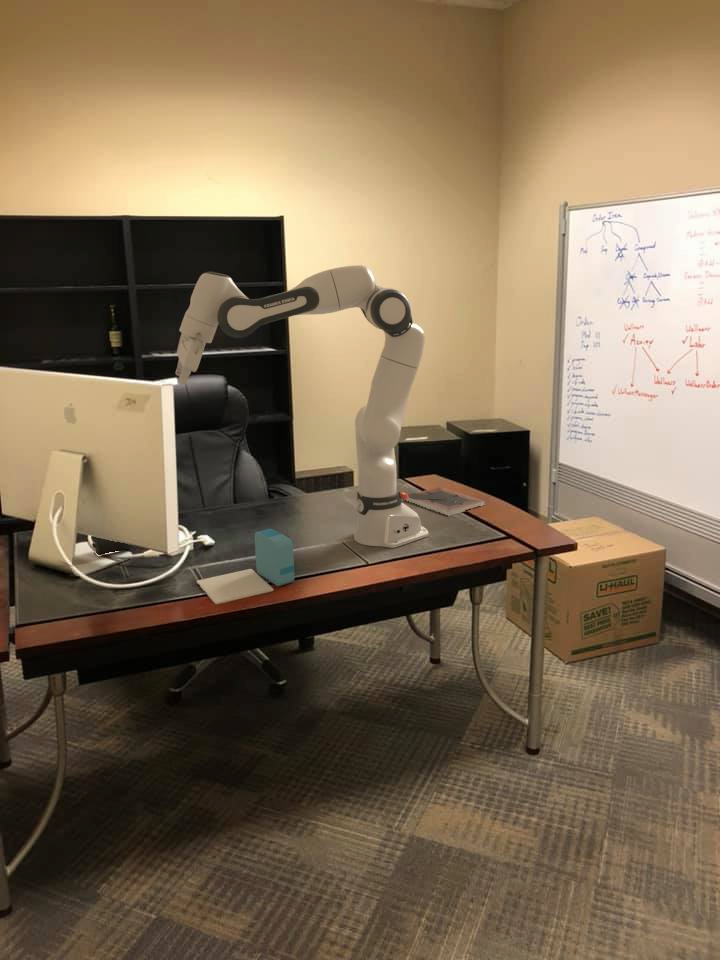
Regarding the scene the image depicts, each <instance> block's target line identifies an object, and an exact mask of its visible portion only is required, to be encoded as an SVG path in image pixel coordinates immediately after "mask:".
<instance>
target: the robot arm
mask: <svg viewBox="0 0 720 960" xmlns="http://www.w3.org/2000/svg"><path fill="white" fill-rule="evenodd" d="M188 306H189V307H188V308H187V310H185V313H184V316H183V319H182V321H181V324H180V327H179V329H178V330H179V332H180V333H181V335H180V337H179V341H178V346H177V349H176V354H177V357H178V361H177V367H176V370H175V375H176V376H177V377H179V378H178V383H179V384H182V385H185V384H186V383H187V380H188V378H189V376H190V375H191V373H192V372H193V373H196V372H197V370H198V368H199V365H200V362H201V359H202V357H203V352H204V350H205V346H206V344H211V343H212V341H213V340H214V337H215V334H216V331H217V328H218V327H219V328H220V329H221V331H222V332H223V333H224V334H225V335H227V336H229V337H231V338H235V339H243V338H246V337H248V336H250V335H251V334H253V333H254V332H255V331H256V330H257V329H258V328H260V327H261V326H263V325H267V324H269V323H272V322H276V321H280V320H282V319H287V318H290V317H294V316H300V315H301V316H302V315H310V316H311V315H312V316H313V315H326V314H332V313H336V312H340V311H343V310H347V309H348V310H349V309H351V308H359V309H360V310H361V312H362V314H363V315H364V318H365V319H366V320H367V322H368V323H370V324H371V325H372V326H373V327H375V328H376V329H379V330H382V331H383V332H384V337H385V339H384V345H383V347H382V351H381V353H380V357H379V358H378V362H377V365H376V368H375V371H374V373H373V377H372V381H371V385H370V389H369V390H370V391H369V395H368V399H367V403H366V405H364V406H363V407H361V408H360V409H359V411H358V412H357V413H356V416H355V419H354V428H355V444H356V446H355V447H356V448H355V449H356V457H357V477H358V479H357V480H358V489H357V490H358V491H357V492H356V508H357V520H356V521H357V522H356V527H355V532H354V535H353V540H354V541H355V542H356V543H359V544H361V545H365V546H369V547H385V548H391V549H393V548H394V549H395V548H397V547H401V546H404V545H407V544H409V543H412V542H414V541H417V540H418V541H419V540H421V539H423V538H424V539H425V538H426V537H429V534H430V533H429V531H428V529H427V528H426V527H424V526H422V522H421V518H420V516H419V514H418V513H417V512H416V511H414V510H413V509H412V508H411V507H409V506H408V505H406V504H405V503H403V501H405V500H407V498H408V497H409V496H408V493H405V492H401V491H399V490H397V463H396V455H395V447H396V446H397V445H398V443H399V441H400V438H401V431H402V427H403V423H404V420H405V415H406V410H407V404H408V400H409V396H410V393H411V390H412V386H413V384H414V382H415V378H416V376H417V372H418V369H419V367H420V364H421V360H422V357H423V353H424V348H425V341H426V334H425V331H424V330H423V328H421V327H420V326H419V325H418V324H416V323H414V321H413V316H412V308H411V305H410V302H409V300H408V298H407V297H406V295H405V294H404V293H403V292H401V291H399V290H397V289H394V288H391V287H383V286H378V284H377V283H376V279H375V277H374V275H373V272H372V271H371V270H370V269H369V268H368V267H367V266H366V265H362V264H361V265H359V264H358V265H357V264H356V265H348V266H347V265H346V266H345V265H344V266H341V267H334V268H331V269H327V270H322V271H320V272H318V273H315V274H313V275H310V276H308V277H307V278H305V279H303V280H302V281H301V282H300V283H298V284H297V285H296V286H294V287H292V288H291V289H289V290H287V291H283V292H281V293H277V294H272V295H268V296H265V297H261V298H255V299H254V298H252V299H251V298H249V297H248V296H246V295H245V294H244V293H243V292H242V290H240V289H239V288H238V287H237V285H236V284H235V282H234V281H233V279H232V277H230V276H229V275H227V274H223V273H219V272H215V271H206V272H204V273H202V274H201V275H200V276H199V278H198V280H197V281H196V284H195V285H194V289H193V291H192V294H191V296H190V304H189V305H188ZM402 500H403V501H402Z"/></svg>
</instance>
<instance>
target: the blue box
mask: <svg viewBox="0 0 720 960" xmlns="http://www.w3.org/2000/svg"><path fill="white" fill-rule="evenodd" d="M254 549H255V550H254V551H255V567H256V573H257V574H258V575H259V576H260V577H262V576H263V577H262V578H264V577H265V578H266V580H267V579H268V580H269V581H268V580H267V581H268V582H270V581H271V582H270V583H272V584H273V585H275V586H277V587H281V586H283V585H287V584H290V583H293V582H294V581H295V561H294V560H295V559H294V543H293V540H292V539H291V537H288V536H287V535H284V534H283V533H281V532H279V531H277V530H275V529H273V528H267V529H264V530H260V531H256V532H255V533H254ZM265 578H264V579H265Z"/></svg>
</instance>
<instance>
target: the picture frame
mask: <svg viewBox="0 0 720 960" xmlns="http://www.w3.org/2000/svg"><path fill="white" fill-rule="evenodd" d="M407 495H408V496H409V497H408V498H407V500H406V501H405V502H408V501H409V502H408V503H411V502H412V503H411V504H413V503H415V504H414V505H416V504H418V505H417V506H419V505H420V506H419V507H422V506H423V507H422V508H425V507H426V508H425V509H428V510H430V509H431V510H430V511H433V510H434V511H433V512H436V513H439V512H440V514H442V515H444V514H445V516H447V515H448V516H447V517H451V516H454V515H457V514H460V513H464V512H466V511H465V510H466V509H469V508H473V507H477V506H481V507H484V506H485V503H486V502H485V500H483V499H479V498H477V497H473V496H469V495H466V494H463V493H461V492H457V491H454V490H451V489H447V488H445V487H441V486H437V487H433V488H430V489H426V490H423V491H422V490H421V491H419V492H418V491H417V492H412V493H407ZM483 505H484V506H483Z"/></svg>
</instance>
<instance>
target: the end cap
mask: <svg viewBox="0 0 720 960" xmlns="http://www.w3.org/2000/svg"><path fill="white" fill-rule="evenodd" d="M90 538H91V540H93V541H94V542H92V543H91V546H92V548H93V547H94V548H95V549H94V548H93V549H94V550H96V553H97V554H98V555H101V554H105V553H109V552H115V551H121V552H125V551H129V550H131V549H132V548H133V547H134V545H133V546H132V545H128V544H125V543H120V542H114V541H109V540H105V539H101V538H96V537H92V536H91V537H90Z"/></svg>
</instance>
